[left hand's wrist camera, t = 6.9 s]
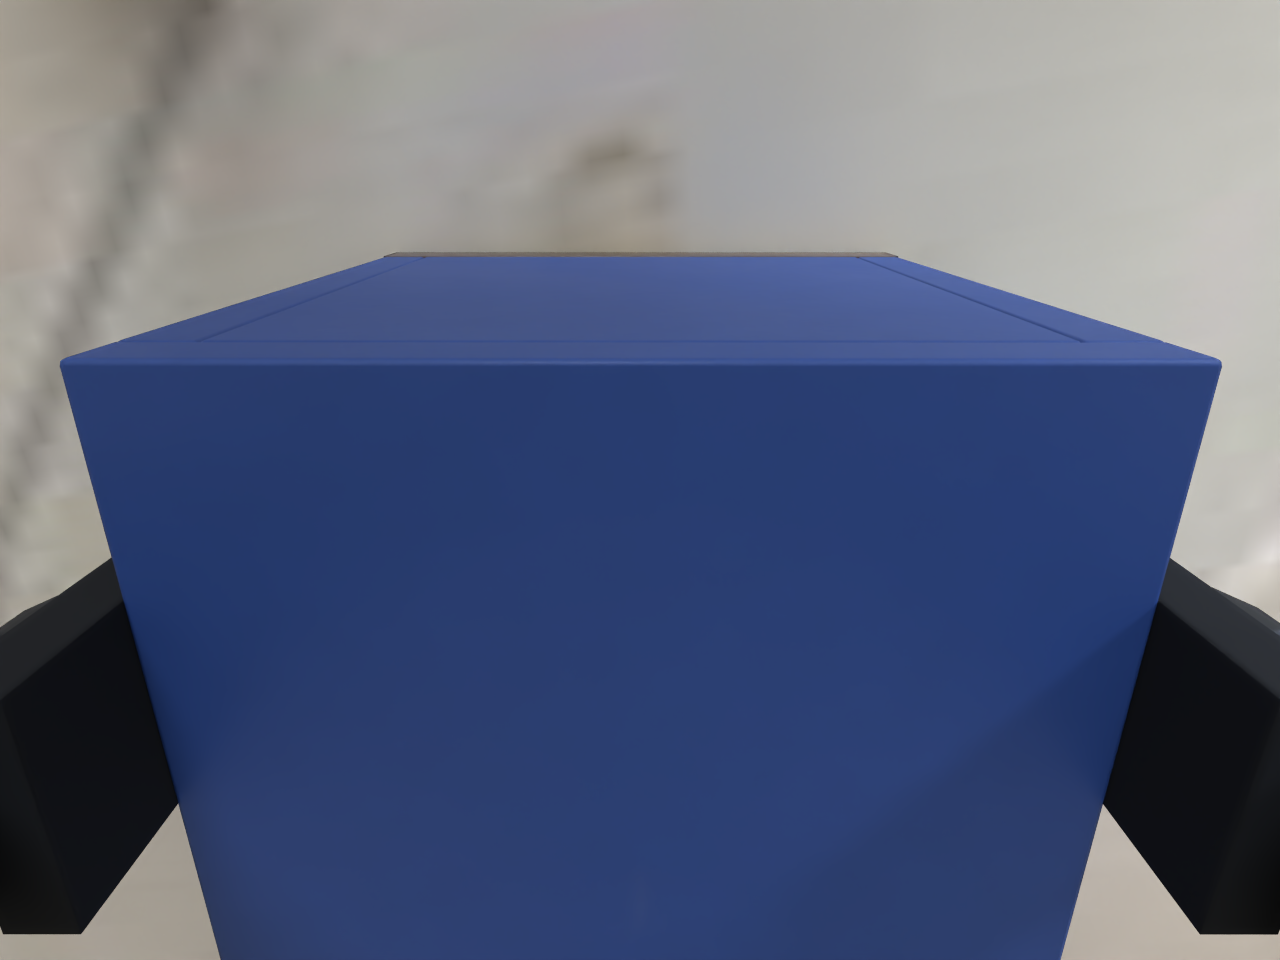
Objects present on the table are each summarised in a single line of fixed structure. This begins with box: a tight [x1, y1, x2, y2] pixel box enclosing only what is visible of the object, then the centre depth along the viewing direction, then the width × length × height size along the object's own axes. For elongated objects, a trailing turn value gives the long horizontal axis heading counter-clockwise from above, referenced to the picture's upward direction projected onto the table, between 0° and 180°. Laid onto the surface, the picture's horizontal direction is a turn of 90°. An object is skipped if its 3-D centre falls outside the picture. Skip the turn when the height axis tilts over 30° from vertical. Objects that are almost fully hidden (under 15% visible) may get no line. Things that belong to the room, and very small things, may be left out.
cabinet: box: [60, 253, 1222, 960], centre depth 16 cm, size 22×11×11 cm, turn 0°
